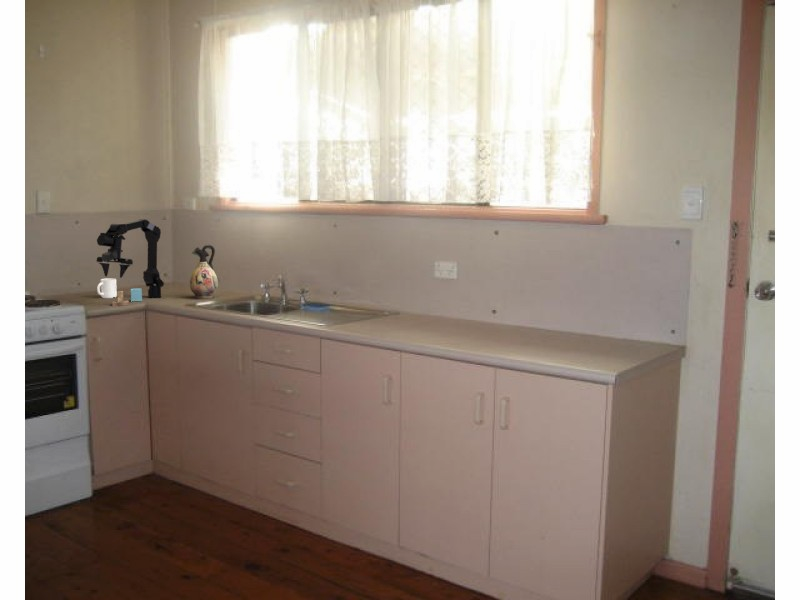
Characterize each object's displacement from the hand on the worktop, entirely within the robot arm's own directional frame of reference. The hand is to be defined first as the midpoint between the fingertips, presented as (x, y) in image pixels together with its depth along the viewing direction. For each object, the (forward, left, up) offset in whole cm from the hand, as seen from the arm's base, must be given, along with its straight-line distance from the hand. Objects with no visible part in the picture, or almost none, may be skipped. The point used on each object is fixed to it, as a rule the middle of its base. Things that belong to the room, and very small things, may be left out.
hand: (113, 277), depth 422 cm
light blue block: (-11, -7, -14) cm, 19 cm away
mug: (+5, -26, -15) cm, 30 cm away
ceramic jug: (-48, -10, -15) cm, 51 cm away
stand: (-3, +4, -14) cm, 15 cm away
